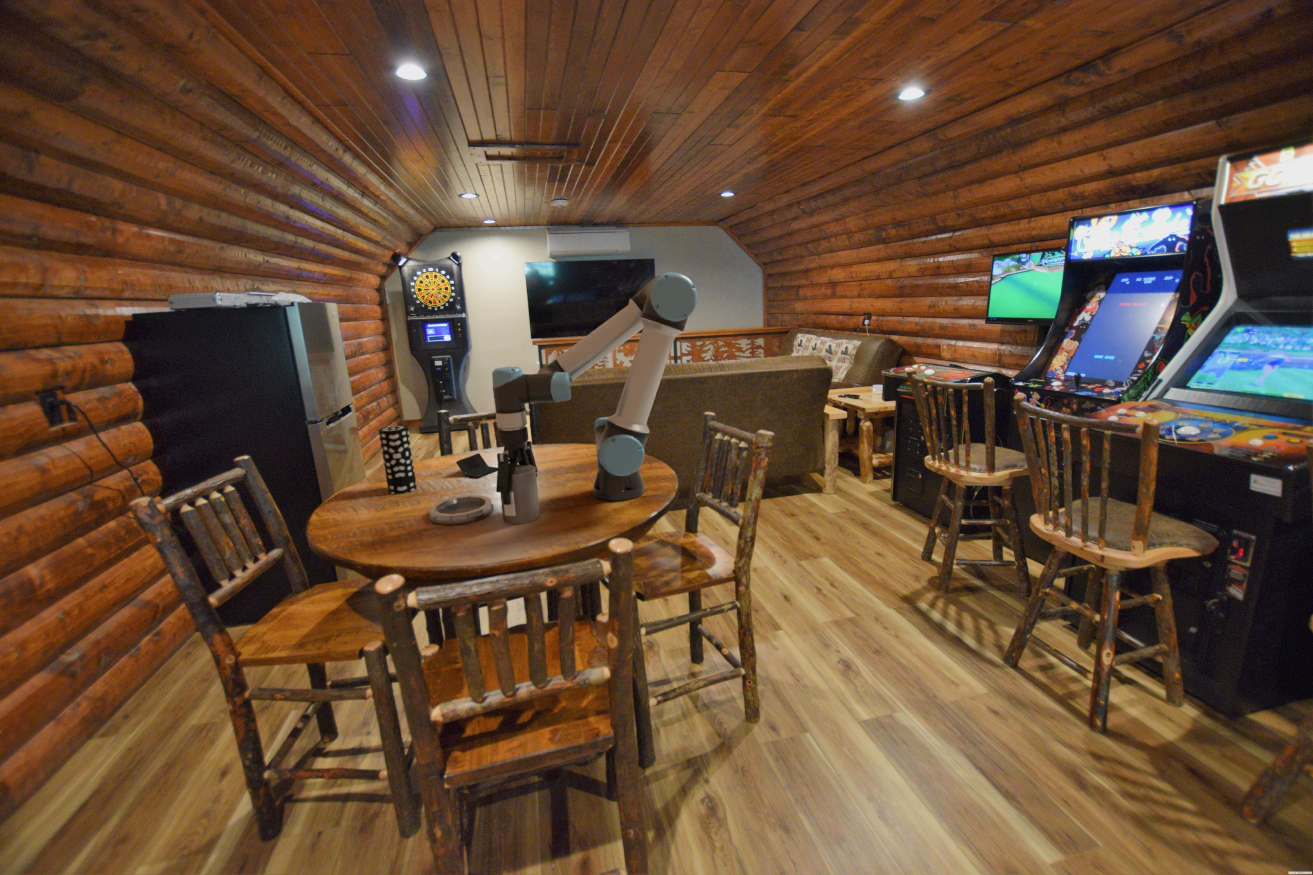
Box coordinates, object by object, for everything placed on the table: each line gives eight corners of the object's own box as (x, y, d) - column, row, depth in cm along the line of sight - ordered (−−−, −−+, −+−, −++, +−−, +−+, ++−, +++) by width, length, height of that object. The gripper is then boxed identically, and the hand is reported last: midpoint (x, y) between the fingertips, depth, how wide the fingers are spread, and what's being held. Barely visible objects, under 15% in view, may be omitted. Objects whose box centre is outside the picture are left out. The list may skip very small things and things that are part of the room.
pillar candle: (500, 515, 158) (494, 462, 154) (535, 508, 162) (530, 457, 158) (507, 527, 150) (500, 472, 146) (544, 520, 153) (539, 466, 150)
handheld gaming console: (483, 474, 191) (466, 450, 192) (469, 487, 193) (452, 462, 194) (502, 469, 202) (487, 446, 203) (489, 481, 204) (473, 458, 205)
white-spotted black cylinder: (382, 492, 182) (372, 430, 177) (402, 484, 189) (393, 424, 184) (402, 495, 179) (392, 432, 174) (422, 486, 186) (413, 426, 181)
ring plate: (505, 504, 166) (504, 496, 166) (471, 527, 150) (470, 518, 150) (453, 501, 171) (452, 493, 170) (416, 523, 155) (414, 514, 154)
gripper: (521, 417, 161) (528, 492, 167) (474, 437, 140) (485, 522, 145) (545, 418, 159) (552, 494, 165) (502, 438, 138) (511, 524, 143)
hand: (520, 507), depth 155 cm, fingers open, 10 cm apart
